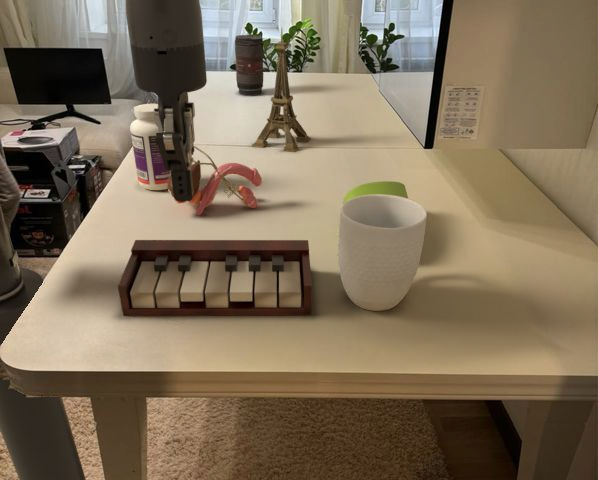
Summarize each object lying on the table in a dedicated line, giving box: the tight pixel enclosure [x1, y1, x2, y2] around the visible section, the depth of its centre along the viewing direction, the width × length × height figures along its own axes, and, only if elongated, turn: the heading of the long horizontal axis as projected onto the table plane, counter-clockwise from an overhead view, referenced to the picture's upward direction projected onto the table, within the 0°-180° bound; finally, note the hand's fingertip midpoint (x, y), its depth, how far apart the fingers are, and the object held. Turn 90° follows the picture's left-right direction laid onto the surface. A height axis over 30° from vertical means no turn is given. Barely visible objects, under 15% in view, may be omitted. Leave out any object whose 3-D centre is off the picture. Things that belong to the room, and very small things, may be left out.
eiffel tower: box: [251, 28, 312, 153], centre depth 131 cm, size 11×11×25 cm
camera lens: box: [234, 34, 265, 96], centre depth 172 cm, size 8×8×15 cm
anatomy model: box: [167, 145, 263, 216], centre depth 105 cm, size 10×14×15 cm
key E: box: [180, 261, 209, 301], centre depth 81 cm, size 3×8×1 cm, turn 2°
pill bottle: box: [129, 103, 171, 191], centre depth 112 cm, size 8×8×14 cm
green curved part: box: [341, 180, 409, 206], centre depth 97 cm, size 8×12×20 cm
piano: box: [117, 239, 313, 317], centre depth 82 cm, size 25×12×5 cm, turn 92°
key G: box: [230, 261, 254, 301], centre depth 81 cm, size 3×8×1 cm, turn 2°
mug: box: [337, 194, 428, 312], centre depth 80 cm, size 15×11×13 cm
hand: (184, 198), depth 72 cm, fingers closed
